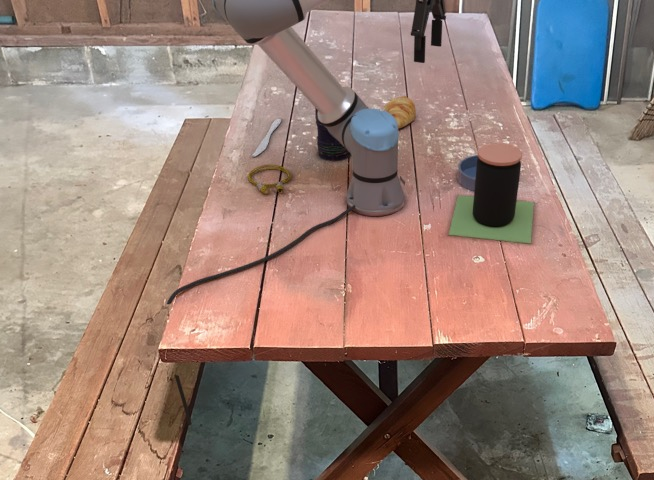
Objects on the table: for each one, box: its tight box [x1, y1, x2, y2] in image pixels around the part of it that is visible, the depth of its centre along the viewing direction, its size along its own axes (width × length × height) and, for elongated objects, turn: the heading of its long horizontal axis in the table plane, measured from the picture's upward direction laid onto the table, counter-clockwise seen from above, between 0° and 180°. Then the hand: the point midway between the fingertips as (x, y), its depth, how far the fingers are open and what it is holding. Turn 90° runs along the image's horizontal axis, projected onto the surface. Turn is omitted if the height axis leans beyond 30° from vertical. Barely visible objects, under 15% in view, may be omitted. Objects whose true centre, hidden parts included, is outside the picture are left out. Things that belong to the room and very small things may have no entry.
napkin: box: [448, 194, 535, 245], centre depth 178 cm, size 20×20×1 cm
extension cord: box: [247, 163, 292, 195], centre depth 194 cm, size 12×16×2 cm
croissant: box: [383, 96, 416, 130], centre depth 226 cm, size 21×10×8 cm, turn 173°
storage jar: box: [314, 107, 352, 162], centre depth 203 cm, size 10×10×15 cm
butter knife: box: [251, 118, 282, 157], centre depth 216 cm, size 1×27×3 cm
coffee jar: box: [473, 142, 523, 227], centre depth 173 cm, size 11×11×18 cm
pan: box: [457, 154, 479, 192], centre depth 194 cm, size 16×16×4 cm
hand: (427, 53), depth 182 cm, fingers open, 13 cm apart
